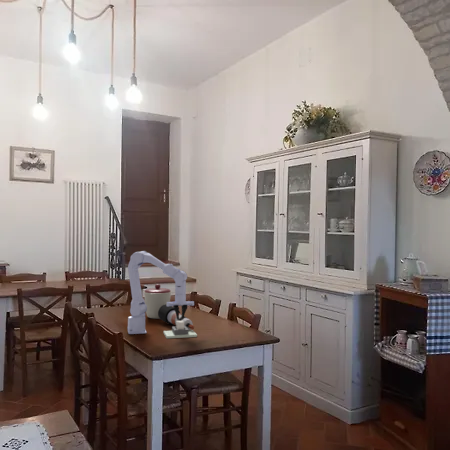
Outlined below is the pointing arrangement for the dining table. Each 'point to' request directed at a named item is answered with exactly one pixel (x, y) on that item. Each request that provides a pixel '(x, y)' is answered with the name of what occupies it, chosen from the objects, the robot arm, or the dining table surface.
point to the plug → (179, 325)
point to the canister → (156, 300)
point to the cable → (173, 316)
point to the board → (180, 333)
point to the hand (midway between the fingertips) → (180, 319)
